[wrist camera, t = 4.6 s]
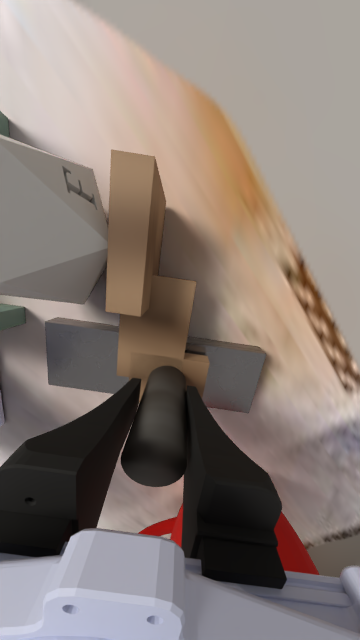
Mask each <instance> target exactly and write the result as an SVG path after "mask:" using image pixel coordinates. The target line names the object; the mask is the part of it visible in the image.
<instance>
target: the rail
mask: <svg viewBox="0 0 360 640" xmlns="http://www.w3.org/2000/svg"><path fill="white" fill-rule="evenodd" d="M45 331H46V348H47V366H48V383H49V385H56V386H63V387H70V388H77V389H84V390H91V391H98V392H105V393H112V394H115V393H116V392H117V391H118V390H120V389H121V388H122V387H123V386H124V385H125V384H126V383H127V382H128V381H129V377H124V376H117V359H118V341H119V326H114V325H107V324H100V323H93V322H87V321H80V320H73V319H66V318H59V317H57V318H54V319H51V320H48V321H45ZM185 353H190V354H197V355H204V356H208V359H209V363H210V364H209V369H208V373H207V378H206V383H205V388H204V392H203V397H202V400H203V402H204V404H205V405H206V407H211V408H218V409H225V410H232V411H239V412H246V413H249V410H250V407H251V403H252V400H253V397H254V393H255V390H256V387H257V383H258V380H259V377H260V373H261V370H262V367H263V363H264V360H265V357H266V353H265V352H264V351H263V350H262V349H261V348H260V347H257V346H250V345H243V344H236V343H229V342H223V341H216V340H209V339H202V338H195V337H189V336H187V342H186V348H185Z"/></svg>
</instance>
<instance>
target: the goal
mask: <svg viewBox="0 0 360 640" xmlns="http://www.w3.org/2000/svg"><path fill="white" fill-rule="evenodd" d="M0 135H3V136H6V137H8V138H9V127H8V118H7V117H6V116H5V115H4V114H3V113H2V112H0ZM24 323H26V320H25V309H24V307H21V306H14V305H7V304H0V331H1V330H4V329H7V328H11V327H14V326H17V325H21V324H24Z"/></svg>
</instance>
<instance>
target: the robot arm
mask: <svg viewBox="0 0 360 640" xmlns="http://www.w3.org/2000/svg"><path fill="white" fill-rule="evenodd" d="M140 388H141V379H139V378H132V379H131V380H130V381H128V382H127V383H126V384H125V385H124V386H123V387H122V388H121V389H120V390H118V391H117V392H116V393H115V394H114V395H113V396H111V397H110V398H109V399H107V400H106V401H105V402H103V403H102V404H101V405H99V406H98V407H96V408H95V409H93V410H92V411H90V412H88V413H87V414H85V415H83V416H81V417H79V418H77V419H76V420H74V421H72V422H70V423H68V424H66V425H63V426H61V427H59V428H57V429H54V430H52V431H50V432H47V433H44V434H42V435H39V436H37V437H34V438H31V439H28V440H26V441H25V442H24V443H23V444H22V445H21V446H20V447H19V448H18V449H17V450H16V451H15V452H14V453H13V454H12V455H11V456H10V457H9V458H8V459H7V461H6V462H5V463H4V464H3V465H2V466H1V467H0V640H360V566H355V565H354V566H347V567H345V568H344V569H343V570H342V572H341V574H340V578H337V577H329V576H322V575H314V574H306V573H299V572H291V571H284V568H283V566H282V563H281V560H280V557H279V554H278V551H277V548H276V547H278V540H277V537H276V534H275V532H274V528H275V526H276V524H277V521H278V519H279V517H280V514H281V510H282V504H281V501H280V498H279V496H278V494H277V491H276V489H275V487H274V485H273V483H272V481H271V479H270V477H269V475H268V473H267V472H266V471H264V470H263V469H262V468H261V467H259V466H258V465H257V464H256V463H255V462H253V461H252V460H251V459H250V458H249V457H248V456H247V455H246V454H244V453H243V452H242V451H241V450H240V449H239V448H238V447H237V446H236V445H235V444H234V443H233V442H232V441H231V440H230V438H229V437H228V436H227V435H226V434H225V433H224V432H223V430H222V429H221V428H220V427H219V425H218V424H217V423H216V421H215V420H214V418H213V417H212V415H211V414H210V412H209V410H208V409H207V407H206V405H205V404H204V402H203V400H202V398H201V396H200V394H199V392H198V390H197V388H196V387H195V386H188V385H187V389H186V431H187V468H186V471H185V473H184V491H183V518H182V541H181V547H180V546H179V545H178V544H176V543H175V542H174V541H173V540H170V539H167V538H164V537H160V536H152V535H145V534H137V533H130V532H122V531H115V530H107V529H100V528H96V527H97V524H98V520H99V517H100V514H101V511H102V507H103V504H104V501H105V497H106V494H107V491H108V488H109V485H110V481H111V478H112V475H113V472H114V469H115V466H116V463H117V460H118V457H119V454H120V451H121V449H122V447H123V444H124V442H125V439H126V437H127V435H128V432H129V430H130V427H131V425H132V423H133V420H134V418H135V415H136V411H137V408H138V405H139V398H140ZM4 423H5V420H4V413H3V406H2V399H1V392H0V426H2V425H3V424H4Z"/></svg>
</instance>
